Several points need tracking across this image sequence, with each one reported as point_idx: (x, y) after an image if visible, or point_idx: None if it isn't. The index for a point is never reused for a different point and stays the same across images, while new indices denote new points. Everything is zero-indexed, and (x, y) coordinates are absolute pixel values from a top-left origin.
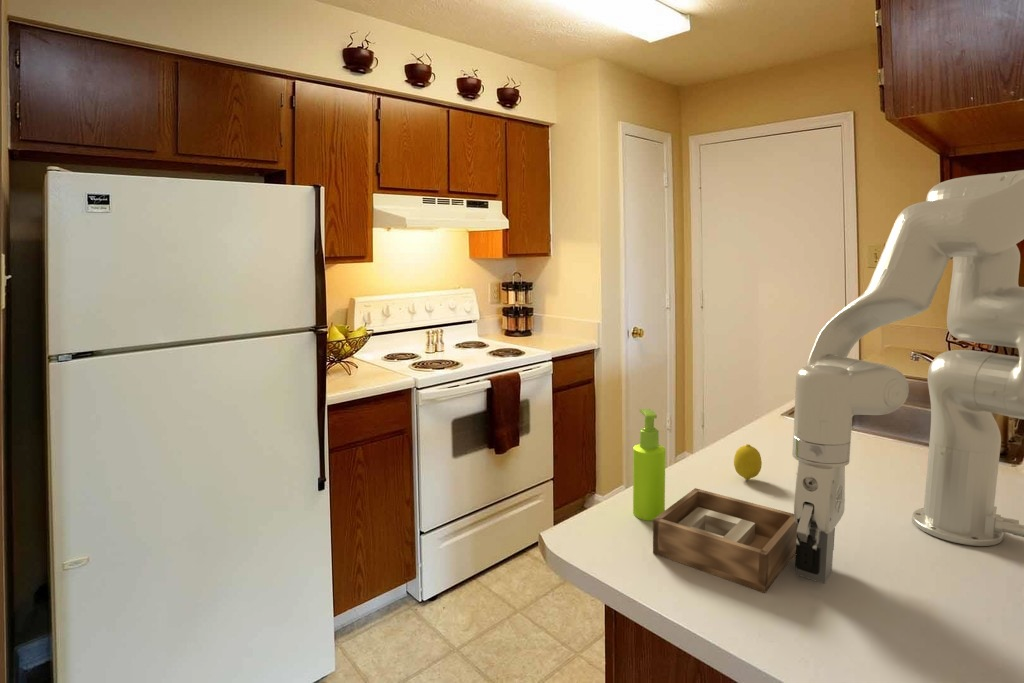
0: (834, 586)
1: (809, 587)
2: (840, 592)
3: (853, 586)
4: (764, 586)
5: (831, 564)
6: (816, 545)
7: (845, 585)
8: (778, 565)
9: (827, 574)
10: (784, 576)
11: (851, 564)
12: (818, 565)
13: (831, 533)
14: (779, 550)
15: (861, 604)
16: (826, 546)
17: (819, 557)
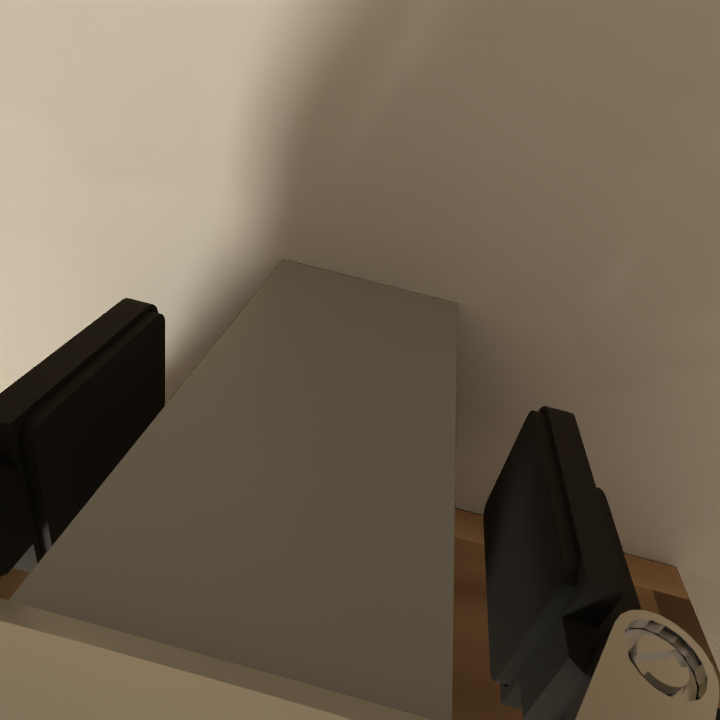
0: (468, 248)
1: (539, 384)
2: (539, 213)
3: (414, 121)
4: (686, 601)
5: (286, 292)
6: (712, 699)
7: (423, 177)
8: (470, 562)
9: (396, 306)
10: (461, 486)
11: (93, 129)
12: (585, 461)
13: (248, 520)
14: (462, 651)
15: (682, 64)
16: (454, 504)
17: (601, 516)
